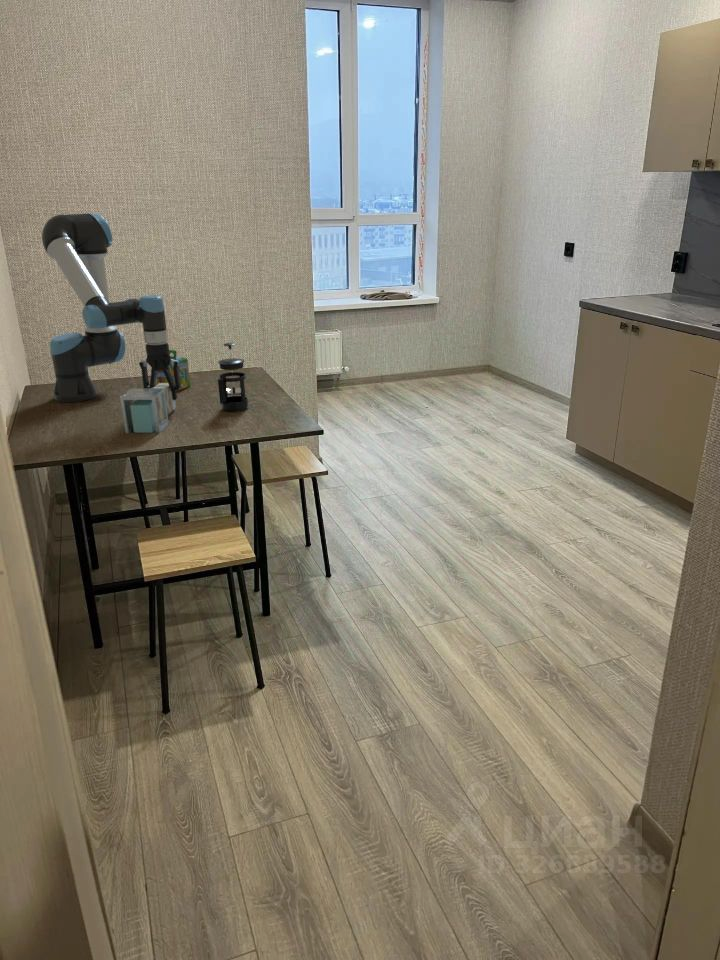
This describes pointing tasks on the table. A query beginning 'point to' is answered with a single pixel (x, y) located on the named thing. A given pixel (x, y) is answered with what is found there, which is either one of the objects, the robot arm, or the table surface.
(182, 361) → the chalk box
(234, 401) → the french press
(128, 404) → the grey open box
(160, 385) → the bar
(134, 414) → the block
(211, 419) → the table surface
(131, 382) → the table surface
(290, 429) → the table surface
